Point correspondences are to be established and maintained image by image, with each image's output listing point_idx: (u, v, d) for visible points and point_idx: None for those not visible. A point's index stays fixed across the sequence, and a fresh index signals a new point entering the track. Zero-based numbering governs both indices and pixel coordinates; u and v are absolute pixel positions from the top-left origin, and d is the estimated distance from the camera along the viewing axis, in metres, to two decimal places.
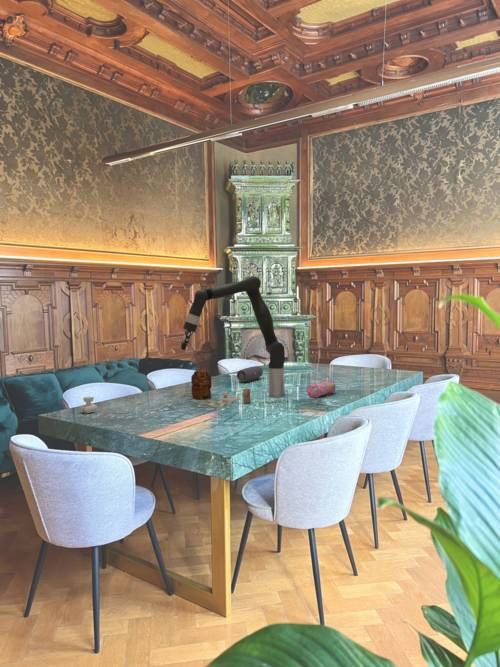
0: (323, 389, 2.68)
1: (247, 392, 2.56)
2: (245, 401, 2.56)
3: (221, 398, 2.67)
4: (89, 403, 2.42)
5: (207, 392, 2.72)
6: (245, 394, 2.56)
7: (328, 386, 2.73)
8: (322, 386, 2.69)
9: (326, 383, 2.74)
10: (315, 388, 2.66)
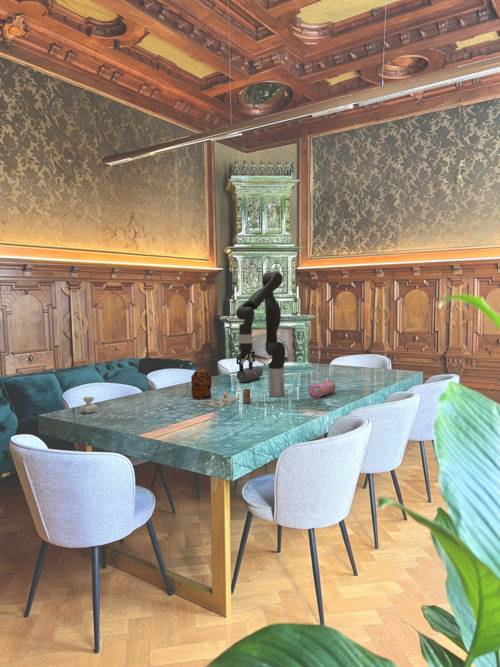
0: (325, 389, 2.68)
1: (247, 392, 2.56)
2: (245, 401, 2.56)
3: (221, 398, 2.67)
4: (89, 403, 2.42)
5: (207, 392, 2.72)
6: (245, 394, 2.56)
7: (329, 386, 2.73)
8: (323, 386, 2.69)
9: (327, 383, 2.74)
10: (317, 388, 2.65)
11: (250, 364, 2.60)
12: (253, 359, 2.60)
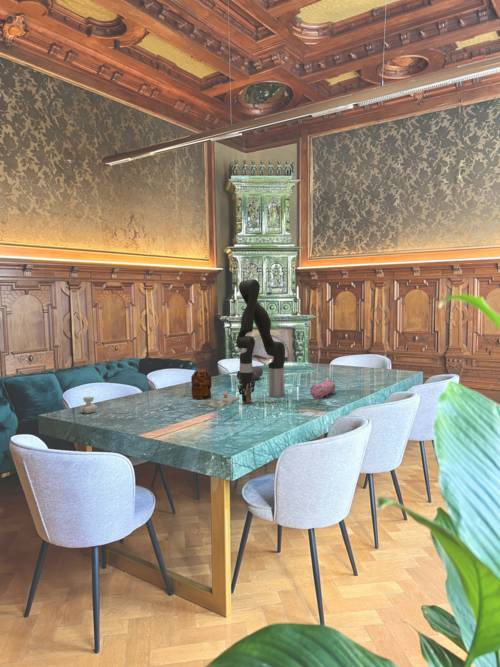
0: (326, 389, 2.68)
1: (247, 392, 2.56)
2: None
3: (221, 398, 2.67)
4: (89, 403, 2.42)
5: (207, 392, 2.72)
6: None
7: (330, 386, 2.73)
8: (325, 386, 2.69)
9: (327, 383, 2.74)
10: (319, 388, 2.64)
11: None
12: (252, 389, 2.60)
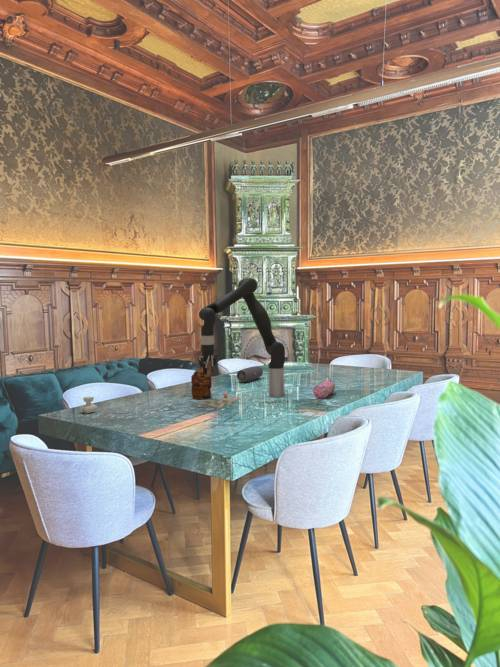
0: (329, 389, 2.68)
1: (208, 365, 2.53)
2: (206, 374, 2.53)
3: (221, 398, 2.67)
4: (89, 403, 2.43)
5: (207, 392, 2.72)
6: None
7: (331, 386, 2.73)
8: (327, 386, 2.69)
9: (329, 383, 2.74)
10: (323, 389, 2.64)
11: None
12: (214, 362, 2.57)
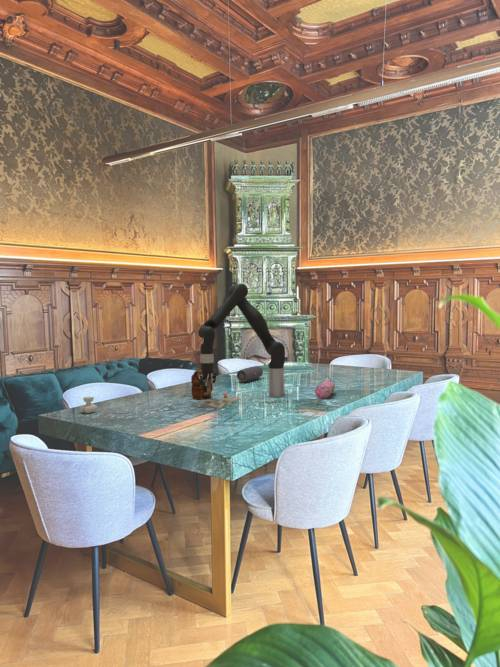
0: (330, 389, 2.68)
1: (208, 383, 2.54)
2: (206, 392, 2.54)
3: (221, 398, 2.67)
4: (89, 403, 2.42)
5: None
6: (206, 385, 2.54)
7: (332, 386, 2.74)
8: (329, 386, 2.69)
9: (329, 383, 2.74)
10: (325, 389, 2.63)
11: None
12: (213, 380, 2.58)
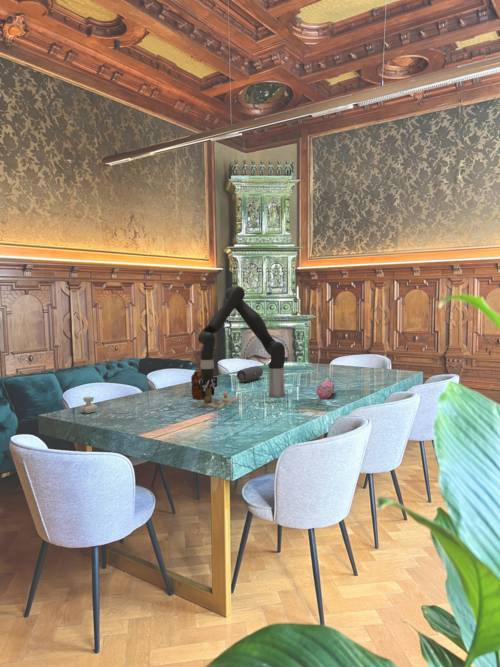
0: (331, 389, 2.68)
1: (208, 391, 2.54)
2: (206, 400, 2.54)
3: (221, 398, 2.67)
4: (89, 403, 2.42)
5: None
6: (206, 393, 2.54)
7: (332, 386, 2.74)
8: (330, 386, 2.69)
9: (330, 383, 2.74)
10: (327, 389, 2.63)
11: (212, 390, 2.58)
12: (215, 384, 2.59)
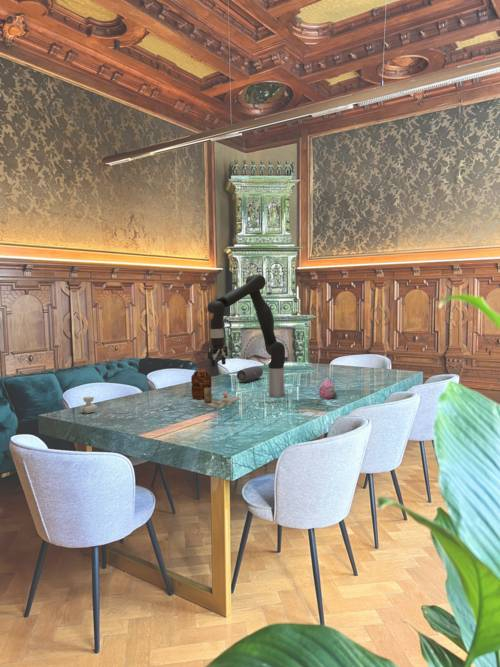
0: (333, 389, 2.68)
1: (208, 391, 2.54)
2: (206, 400, 2.54)
3: (221, 398, 2.67)
4: (89, 403, 2.42)
5: None
6: (206, 393, 2.54)
7: (333, 386, 2.74)
8: (332, 386, 2.69)
9: (330, 383, 2.75)
10: (330, 389, 2.63)
11: (223, 359, 2.57)
12: (226, 354, 2.58)
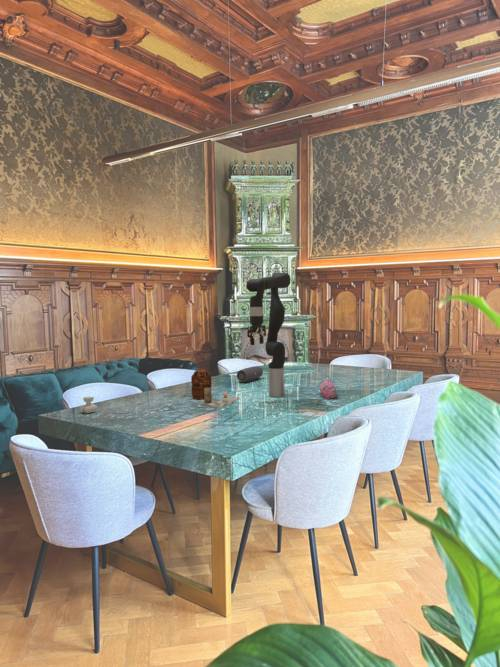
0: None
1: (208, 391, 2.54)
2: (206, 400, 2.54)
3: (221, 398, 2.67)
4: (89, 403, 2.42)
5: None
6: (206, 393, 2.54)
7: None
8: (333, 386, 2.69)
9: (331, 383, 2.75)
10: (332, 389, 2.63)
11: (261, 338, 2.54)
12: (264, 333, 2.54)
